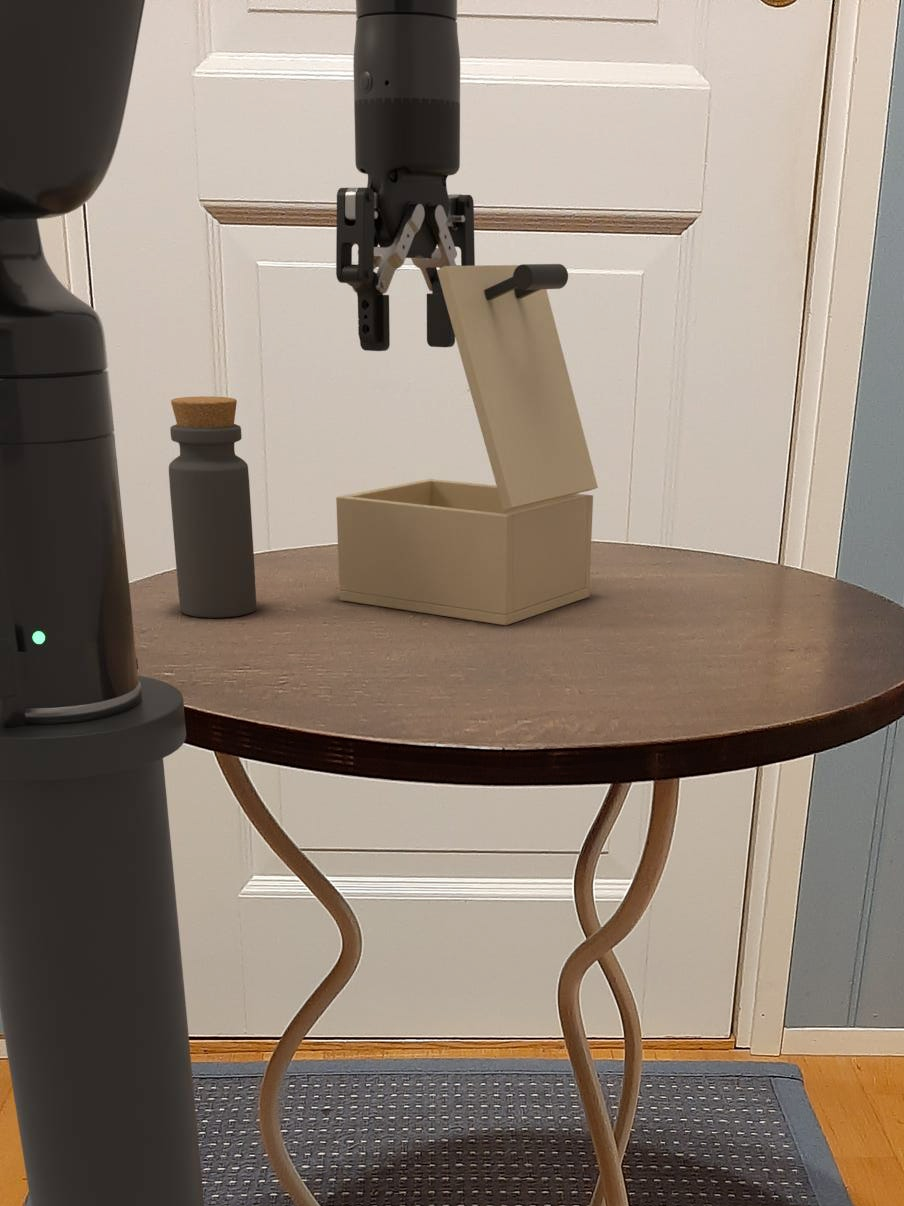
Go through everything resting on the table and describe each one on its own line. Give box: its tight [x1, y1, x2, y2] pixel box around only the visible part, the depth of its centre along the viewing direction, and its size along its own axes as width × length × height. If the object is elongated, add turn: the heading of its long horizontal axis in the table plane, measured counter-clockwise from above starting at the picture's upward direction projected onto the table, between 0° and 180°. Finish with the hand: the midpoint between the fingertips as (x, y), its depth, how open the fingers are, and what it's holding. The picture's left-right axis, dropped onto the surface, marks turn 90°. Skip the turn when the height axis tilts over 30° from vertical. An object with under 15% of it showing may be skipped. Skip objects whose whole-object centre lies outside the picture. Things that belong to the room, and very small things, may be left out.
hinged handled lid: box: [437, 263, 598, 511], centre depth 110 cm, size 16×13×5 cm
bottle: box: [168, 396, 257, 619], centre depth 113 cm, size 6×6×15 cm
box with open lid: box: [335, 478, 594, 627], centre depth 119 cm, size 16×13×8 cm
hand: (409, 348), depth 115 cm, fingers open, 8 cm apart
